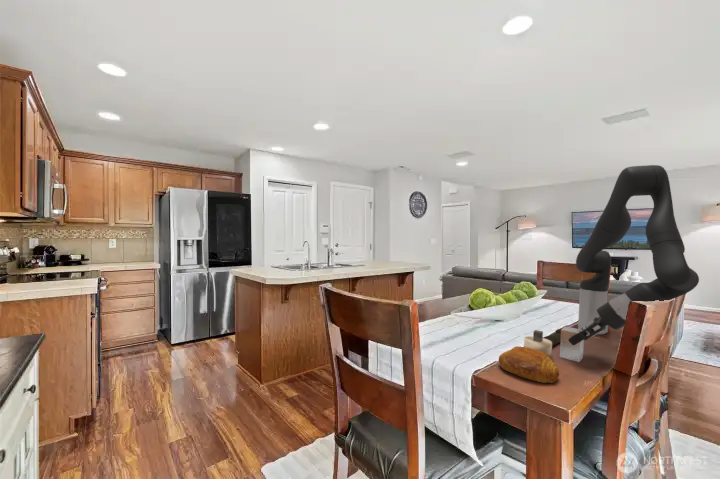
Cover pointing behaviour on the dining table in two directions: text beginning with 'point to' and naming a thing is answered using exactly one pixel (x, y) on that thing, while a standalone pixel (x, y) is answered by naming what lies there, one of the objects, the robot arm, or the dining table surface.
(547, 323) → the dining table surface
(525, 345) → the cream rounded block
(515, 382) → the dining table surface
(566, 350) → the light grey block
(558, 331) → the hand tool
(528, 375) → the croissant
